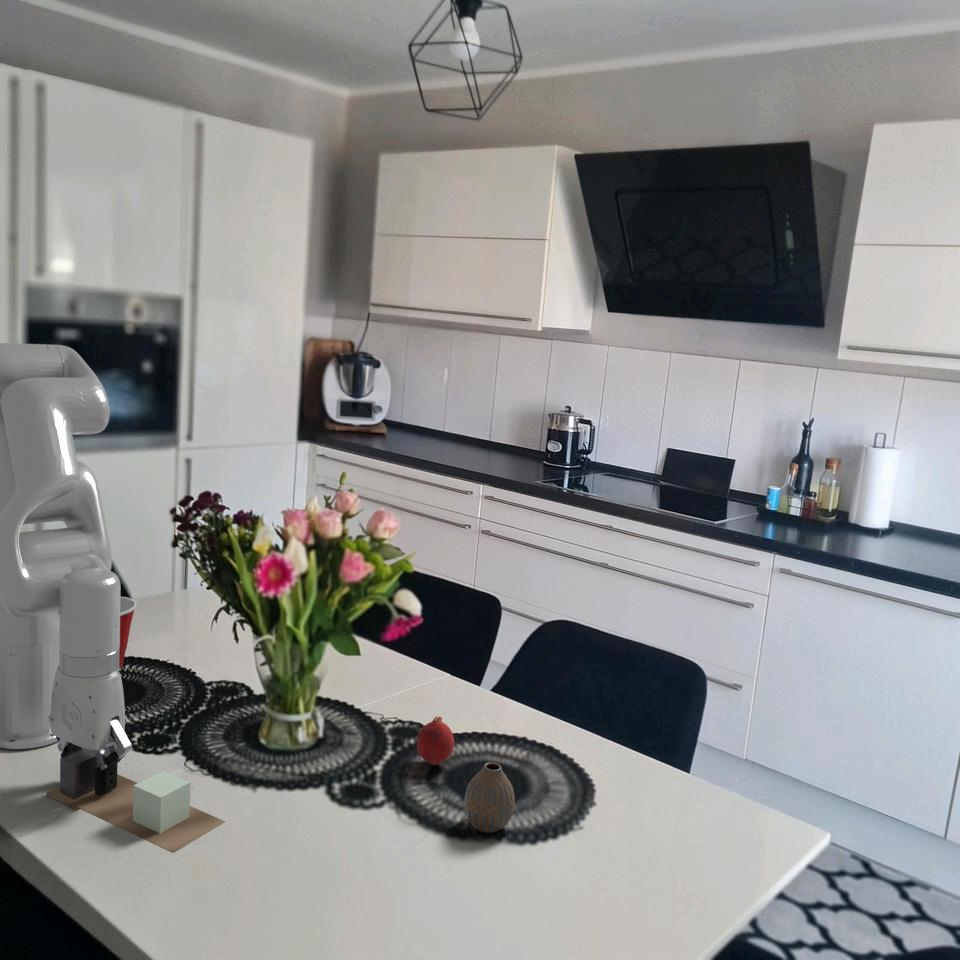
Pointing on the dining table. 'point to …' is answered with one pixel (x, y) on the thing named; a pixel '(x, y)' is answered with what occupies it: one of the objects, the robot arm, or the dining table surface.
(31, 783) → the dining table surface
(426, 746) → the red pomegranate
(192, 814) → the board with grey block
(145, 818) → the sage block
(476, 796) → the vase
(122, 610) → the plastic cup
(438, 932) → the dining table surface
